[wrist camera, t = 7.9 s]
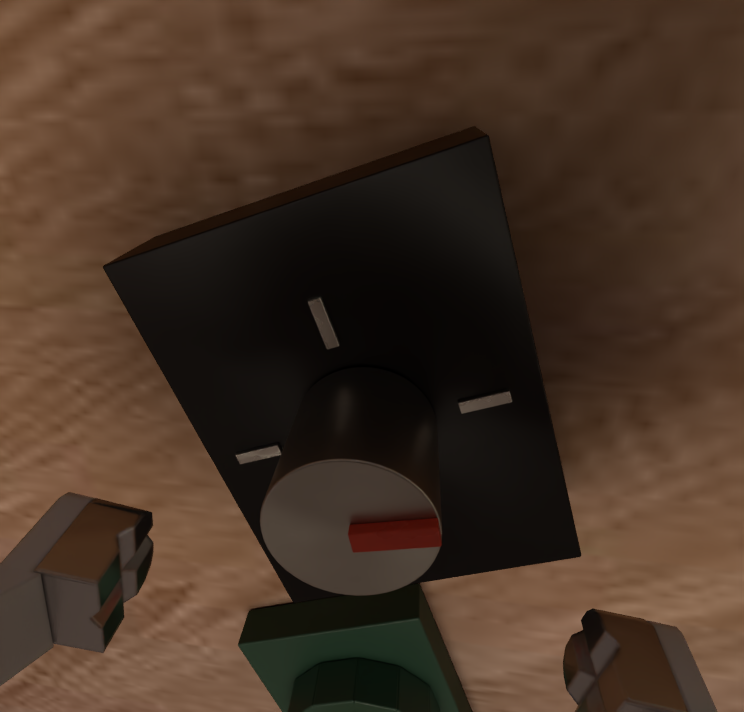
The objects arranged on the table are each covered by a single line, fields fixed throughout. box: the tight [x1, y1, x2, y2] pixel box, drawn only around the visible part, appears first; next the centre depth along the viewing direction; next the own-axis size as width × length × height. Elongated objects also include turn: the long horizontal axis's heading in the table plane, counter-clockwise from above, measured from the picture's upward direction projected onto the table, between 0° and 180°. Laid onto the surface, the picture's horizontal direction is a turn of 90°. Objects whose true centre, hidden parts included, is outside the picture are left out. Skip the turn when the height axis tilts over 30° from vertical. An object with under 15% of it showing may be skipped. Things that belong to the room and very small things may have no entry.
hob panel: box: [103, 126, 581, 603], centre depth 16 cm, size 13×10×3 cm
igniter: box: [238, 583, 472, 712], centre depth 23 cm, size 10×8×4 cm
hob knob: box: [260, 367, 442, 596], centre depth 13 cm, size 4×4×4 cm
